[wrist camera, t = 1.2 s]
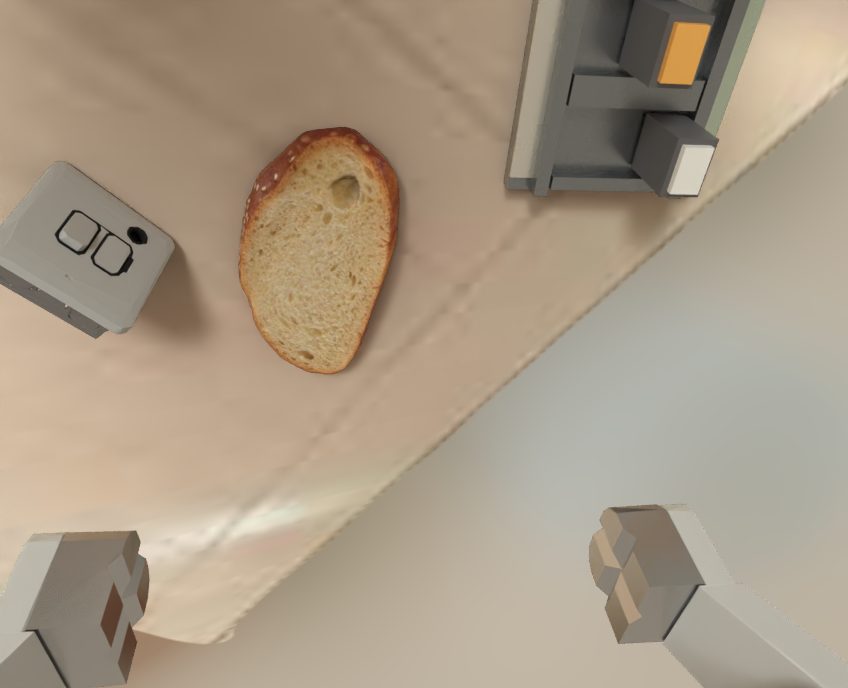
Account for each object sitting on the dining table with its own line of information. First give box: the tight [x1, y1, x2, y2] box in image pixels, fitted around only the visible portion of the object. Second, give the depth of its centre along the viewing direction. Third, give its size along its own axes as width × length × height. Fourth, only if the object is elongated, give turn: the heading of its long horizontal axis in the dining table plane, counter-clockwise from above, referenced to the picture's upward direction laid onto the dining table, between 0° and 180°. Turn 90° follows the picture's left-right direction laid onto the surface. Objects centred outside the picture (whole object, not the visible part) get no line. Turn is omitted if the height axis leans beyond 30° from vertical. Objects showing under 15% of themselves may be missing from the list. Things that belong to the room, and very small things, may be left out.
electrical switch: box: [0, 162, 175, 339], centre depth 42 cm, size 9×5×9 cm, turn 41°
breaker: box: [631, 113, 719, 197], centre depth 43 cm, size 4×3×6 cm
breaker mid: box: [618, 0, 716, 89], centre depth 38 cm, size 4×3×6 cm
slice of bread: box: [238, 127, 399, 374], centre depth 48 cm, size 18×18×4 cm
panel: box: [504, 0, 766, 199], centre depth 40 cm, size 22×15×2 cm
